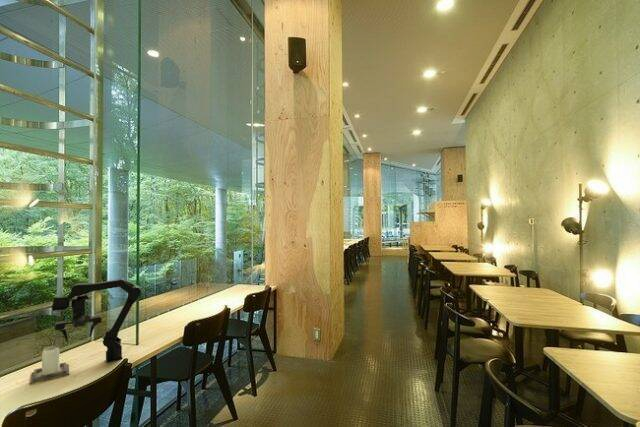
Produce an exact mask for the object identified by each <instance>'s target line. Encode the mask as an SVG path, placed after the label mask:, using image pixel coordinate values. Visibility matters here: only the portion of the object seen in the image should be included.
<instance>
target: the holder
mask: <svg viewBox="0 0 640 427" xmlns="http://www.w3.org/2000/svg"><path fill="white" fill-rule="evenodd" d="M67 376H70V365H69V363H67V362H61V363H60V370H59V372H56V373H52V374H47V375H42V367H39V368H35V369H34V370H33V371H32V372H31V375H30V380H29V386H31V385H34V384H39V383H43V382H47V381H51V380H55V379H60V378H62V377H67Z"/></svg>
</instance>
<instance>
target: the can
mask: <svg viewBox="0 0 640 427" xmlns="http://www.w3.org/2000/svg"><path fill="white" fill-rule="evenodd" d="M60 351H61V350H60V347H59V345H56V344H55V345H51V346H46V347H45V348H43V350H42V353H41V368H42V375H47V374H52V373H56V372H59V370H60V364H61V363H60V360H61V359H60V353H61V352H60Z"/></svg>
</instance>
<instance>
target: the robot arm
mask: <svg viewBox="0 0 640 427" xmlns="http://www.w3.org/2000/svg"><path fill="white" fill-rule="evenodd" d="M115 288H120V289H121V290H123V292H125V293H127V294H128V295H127V297H126V300H125V302H124V304H123V306H122V307H121V310H120V312H119V314H118V315H117V318H116V319H115V322H114V323H113V325H112V327H111V328H109V327H107V329H106V332H105V333H104V334H103V336H102V345H103V346H104V347H105V348H106V350H105V360H106V361H107V362H108V363H110V362H115V361H119V360H122V359H123V356H122V355H123V350H122V349H123V348H122V339H121V338H119V336H118V335H119V333H120V329H121V328H122V326H123V324H124V322H125V320H126V318H127V316H128V314H129V312H130V311H131V308H132V306H133V305H134V304H135V303H136V301H137V300H138V299H139V297H140V296H141V294H142V287H140V285H135V284H133V283H131V282H129V281H127V279H125V278H119V279H118V278H117V279H113V280H106V281H100V282H99V281H98V282H77V283H76V284H74V285H73V286H72V287H71V289H70V293H68V295H67V296H55V297H53V300H52V304H51V310H52V312H59V311H68V309H69V308H71V321H67V322H66V320H61V321H56V322H55V323H54V330H55V331H58V332H61V333H62V335H63V336H64V339H65V341H66V342H67V343H68V342H69V338H68V331H67V327H70V326H73V328H77V327H84V326H86V325H87V324H89V323H90V325H89V335H88V336H89V338H91V336H92V334H93V332H94V329H95V327H96V326H97V325H99V324H101V323H102V316H101V315H100V314H97V315H93V316H91V314H87V306H86V305H87V300H89V299H91V296H90V295H89V294H90V293H91V292H92V293H93V292H95V291H96V292H97V291H102V290H108V289H110V290H111V289H115Z"/></svg>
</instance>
